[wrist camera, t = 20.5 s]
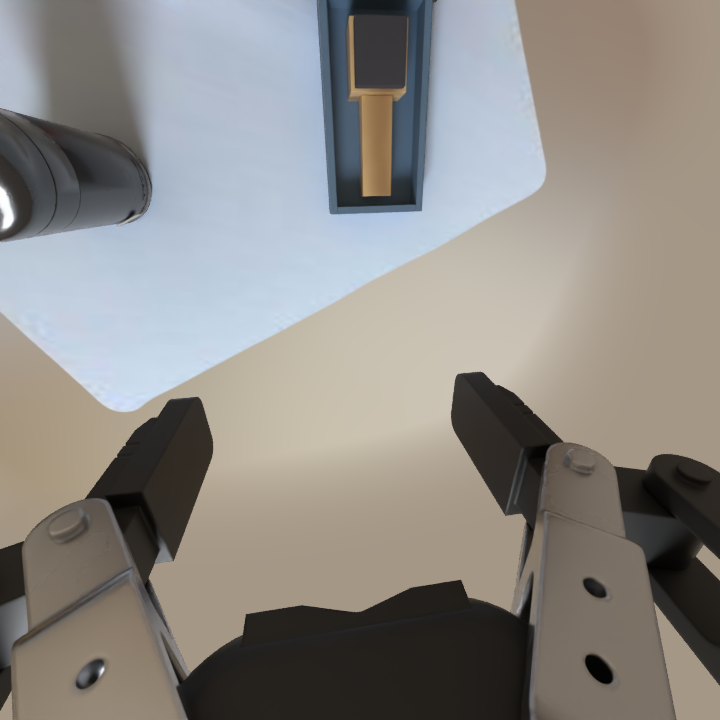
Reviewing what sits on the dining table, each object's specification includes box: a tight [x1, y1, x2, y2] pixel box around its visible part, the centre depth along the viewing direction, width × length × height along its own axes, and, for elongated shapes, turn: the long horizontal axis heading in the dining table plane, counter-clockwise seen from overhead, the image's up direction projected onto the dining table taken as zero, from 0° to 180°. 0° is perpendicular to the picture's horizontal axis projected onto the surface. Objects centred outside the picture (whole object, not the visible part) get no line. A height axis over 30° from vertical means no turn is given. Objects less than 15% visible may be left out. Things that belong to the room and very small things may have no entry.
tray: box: [317, 0, 433, 214], centre depth 39 cm, size 12×21×4 cm, turn 1°
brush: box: [345, 14, 408, 196], centre depth 38 cm, size 6×16×5 cm, turn 1°
